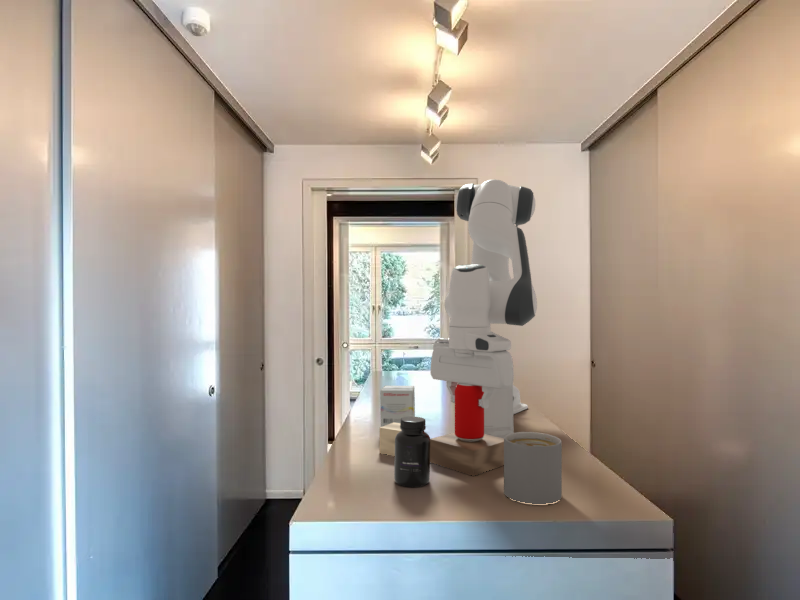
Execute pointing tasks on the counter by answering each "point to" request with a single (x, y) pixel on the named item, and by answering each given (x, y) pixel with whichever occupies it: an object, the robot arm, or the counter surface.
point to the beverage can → (468, 413)
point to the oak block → (388, 438)
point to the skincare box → (499, 413)
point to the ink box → (396, 403)
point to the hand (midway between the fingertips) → (469, 405)
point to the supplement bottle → (412, 453)
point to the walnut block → (467, 453)
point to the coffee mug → (533, 467)
